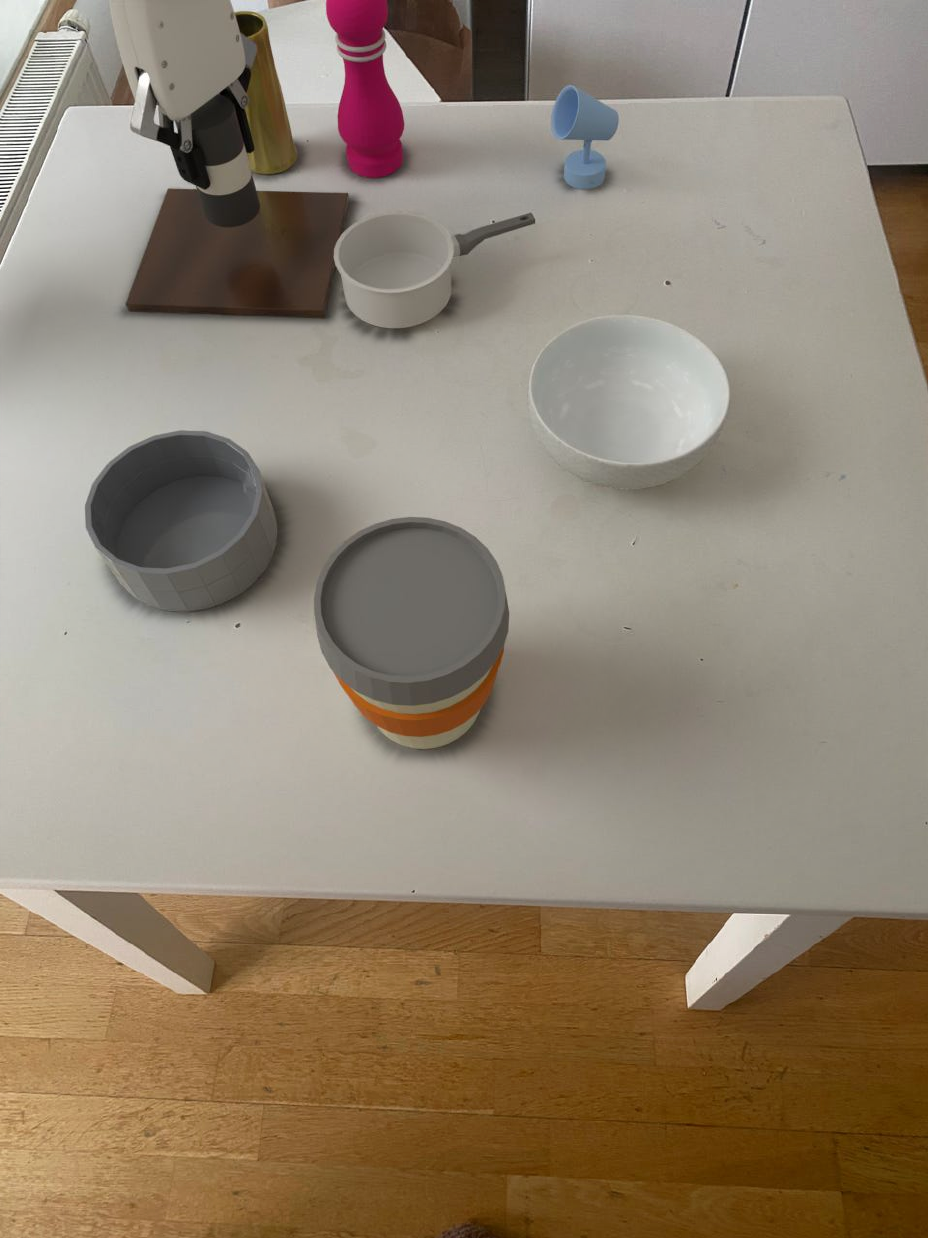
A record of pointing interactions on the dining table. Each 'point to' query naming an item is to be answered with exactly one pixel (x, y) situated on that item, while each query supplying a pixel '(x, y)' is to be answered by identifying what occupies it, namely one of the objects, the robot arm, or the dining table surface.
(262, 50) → the vase
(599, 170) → the spotlight
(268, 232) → the board
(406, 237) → the saucepan
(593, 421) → the cereal bowl
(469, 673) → the reusable coffee cup
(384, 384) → the dining table surface
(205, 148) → the dark grey banded canister
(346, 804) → the dining table surface
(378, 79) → the pepper mill
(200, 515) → the grey pet bowl
